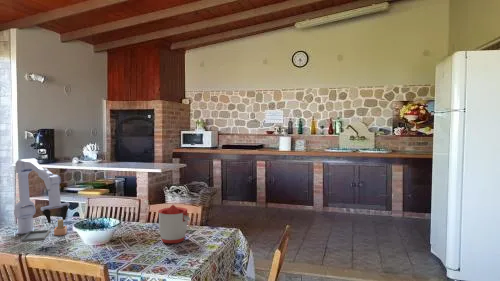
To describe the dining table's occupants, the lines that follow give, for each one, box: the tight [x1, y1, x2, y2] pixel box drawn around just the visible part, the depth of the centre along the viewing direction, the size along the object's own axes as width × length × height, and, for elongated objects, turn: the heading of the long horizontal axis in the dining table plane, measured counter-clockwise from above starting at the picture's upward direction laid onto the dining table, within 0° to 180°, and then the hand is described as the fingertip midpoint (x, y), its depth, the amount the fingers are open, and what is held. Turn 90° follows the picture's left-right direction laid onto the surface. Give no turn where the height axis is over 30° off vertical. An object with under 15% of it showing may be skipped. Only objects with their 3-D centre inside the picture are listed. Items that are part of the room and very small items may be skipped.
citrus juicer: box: [157, 204, 191, 244], centre depth 199 cm, size 16×17×20 cm
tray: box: [20, 229, 51, 243], centre depth 205 cm, size 16×11×2 cm
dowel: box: [57, 218, 64, 229], centre depth 210 cm, size 3×3×8 cm
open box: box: [53, 225, 68, 236], centre depth 210 cm, size 6×6×4 cm
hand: (56, 221), depth 201 cm, fingers open, 7 cm apart
